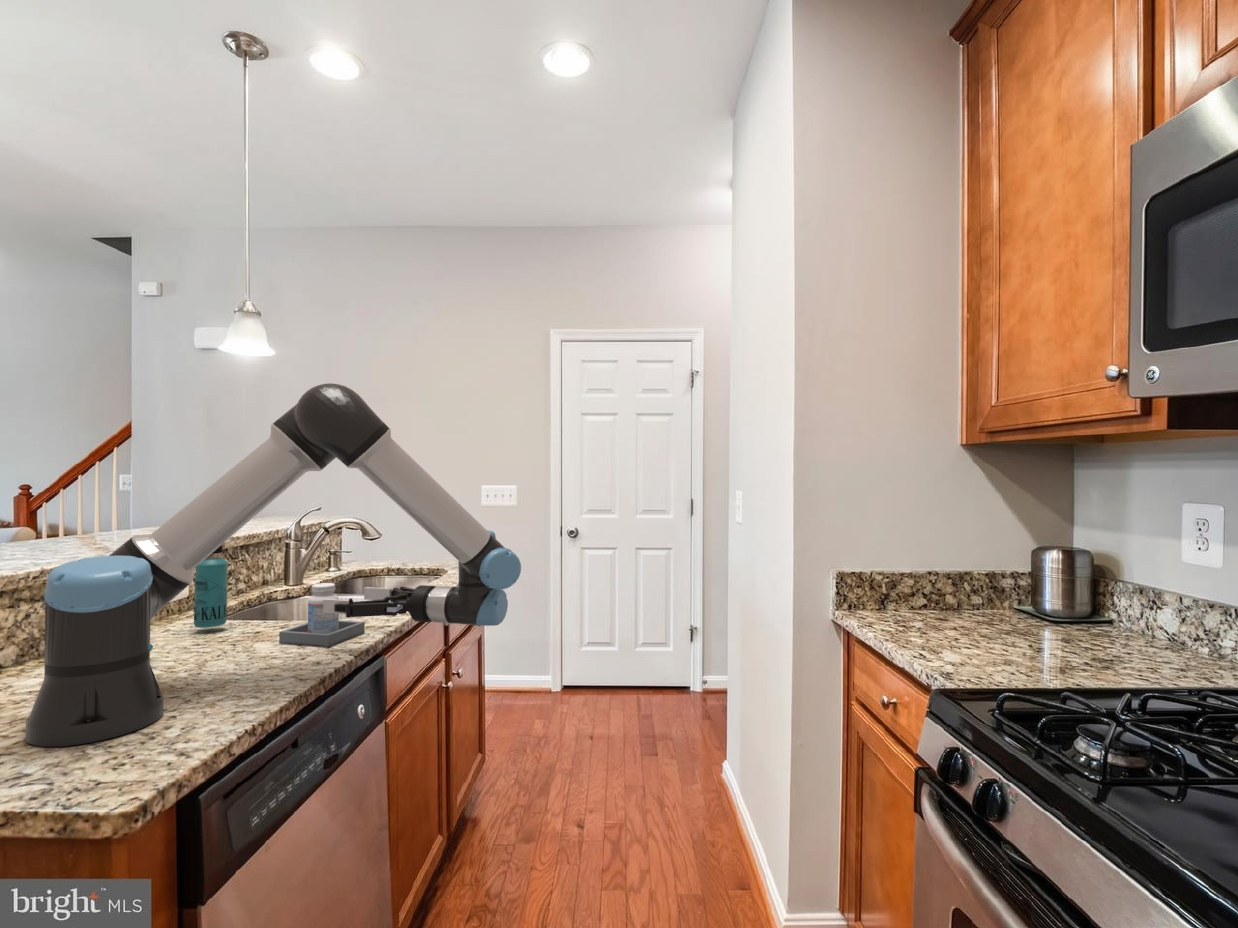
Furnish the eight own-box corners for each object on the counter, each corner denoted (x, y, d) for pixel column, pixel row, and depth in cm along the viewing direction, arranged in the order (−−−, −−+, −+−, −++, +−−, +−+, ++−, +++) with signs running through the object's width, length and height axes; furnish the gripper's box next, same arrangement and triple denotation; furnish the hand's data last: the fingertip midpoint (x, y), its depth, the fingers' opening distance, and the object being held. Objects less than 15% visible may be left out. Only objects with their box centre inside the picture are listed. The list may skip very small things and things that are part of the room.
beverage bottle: (202, 627, 145) (204, 541, 145) (233, 627, 145) (234, 541, 146) (186, 635, 138) (187, 545, 138) (218, 634, 139) (219, 544, 139)
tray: (328, 647, 129) (328, 635, 129) (279, 643, 132) (279, 631, 132) (364, 633, 141) (364, 622, 141) (318, 629, 143) (318, 618, 143)
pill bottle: (311, 633, 138) (312, 582, 138) (341, 631, 140) (341, 581, 140) (304, 640, 132) (304, 587, 132) (335, 638, 134) (335, 586, 134)
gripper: (400, 637, 118) (304, 630, 123) (461, 609, 143) (379, 604, 147) (401, 597, 119) (305, 592, 123) (462, 576, 143) (380, 572, 148)
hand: (345, 599), depth 135 cm, fingers open, 13 cm apart
